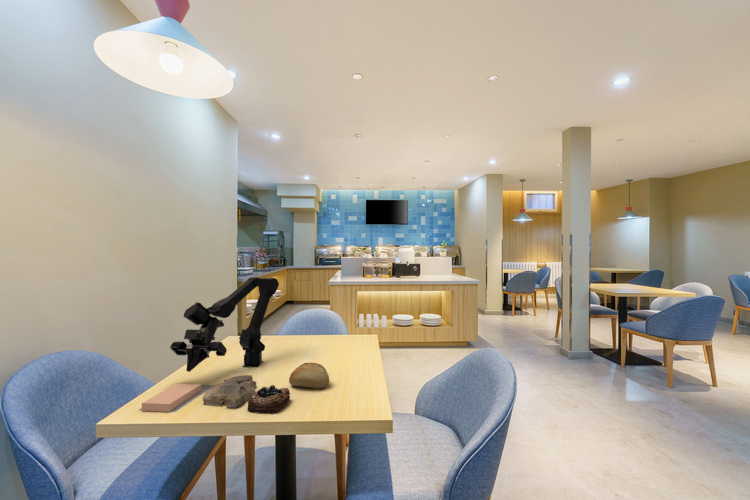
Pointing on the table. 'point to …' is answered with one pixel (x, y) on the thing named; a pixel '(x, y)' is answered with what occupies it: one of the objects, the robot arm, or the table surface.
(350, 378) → the table surface
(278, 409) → the pastry
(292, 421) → the table surface
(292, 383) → the bread roll
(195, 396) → the mat
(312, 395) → the table surface
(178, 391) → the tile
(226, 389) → the flat grey rock
